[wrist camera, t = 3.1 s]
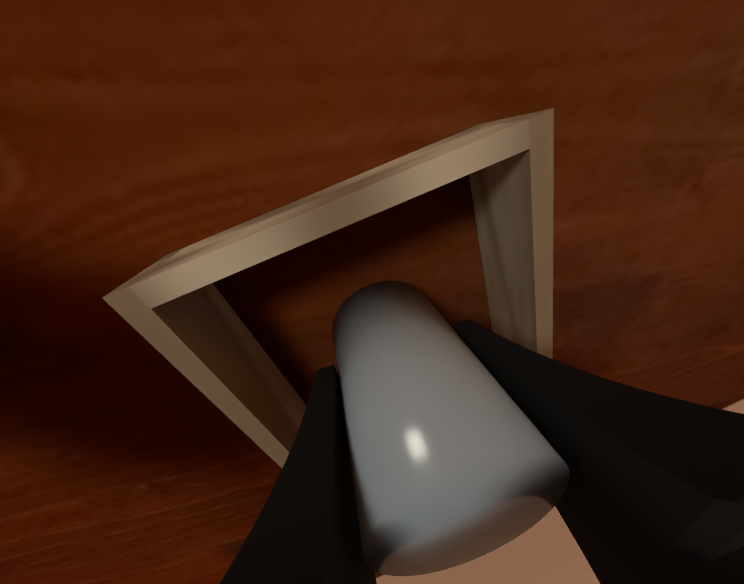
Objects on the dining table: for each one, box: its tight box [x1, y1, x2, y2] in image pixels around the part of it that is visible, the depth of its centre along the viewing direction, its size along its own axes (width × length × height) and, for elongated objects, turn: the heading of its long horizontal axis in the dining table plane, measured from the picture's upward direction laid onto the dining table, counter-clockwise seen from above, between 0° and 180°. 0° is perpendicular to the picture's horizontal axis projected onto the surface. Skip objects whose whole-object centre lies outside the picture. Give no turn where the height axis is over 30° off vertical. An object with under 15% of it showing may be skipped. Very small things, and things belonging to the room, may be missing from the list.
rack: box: [103, 108, 554, 468], centre depth 12 cm, size 13×13×4 cm
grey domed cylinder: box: [332, 281, 570, 576], centre depth 10 cm, size 7×5×8 cm
